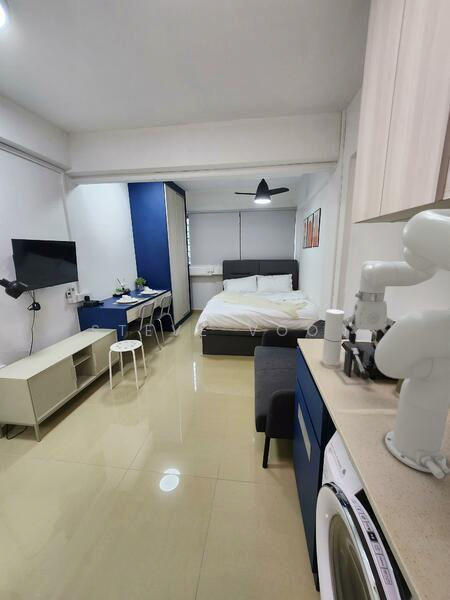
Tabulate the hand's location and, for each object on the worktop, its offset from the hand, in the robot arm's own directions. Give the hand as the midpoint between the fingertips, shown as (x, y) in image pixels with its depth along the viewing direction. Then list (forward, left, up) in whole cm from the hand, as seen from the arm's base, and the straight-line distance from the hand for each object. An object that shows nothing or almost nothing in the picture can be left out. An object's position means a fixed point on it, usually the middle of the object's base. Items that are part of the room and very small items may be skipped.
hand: (365, 342), depth 88 cm
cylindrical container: (+18, +4, -18) cm, 26 cm away
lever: (+3, 0, -11) cm, 12 cm away
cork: (-5, -13, -18) cm, 23 cm away
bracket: (+7, 0, -18) cm, 20 cm away
